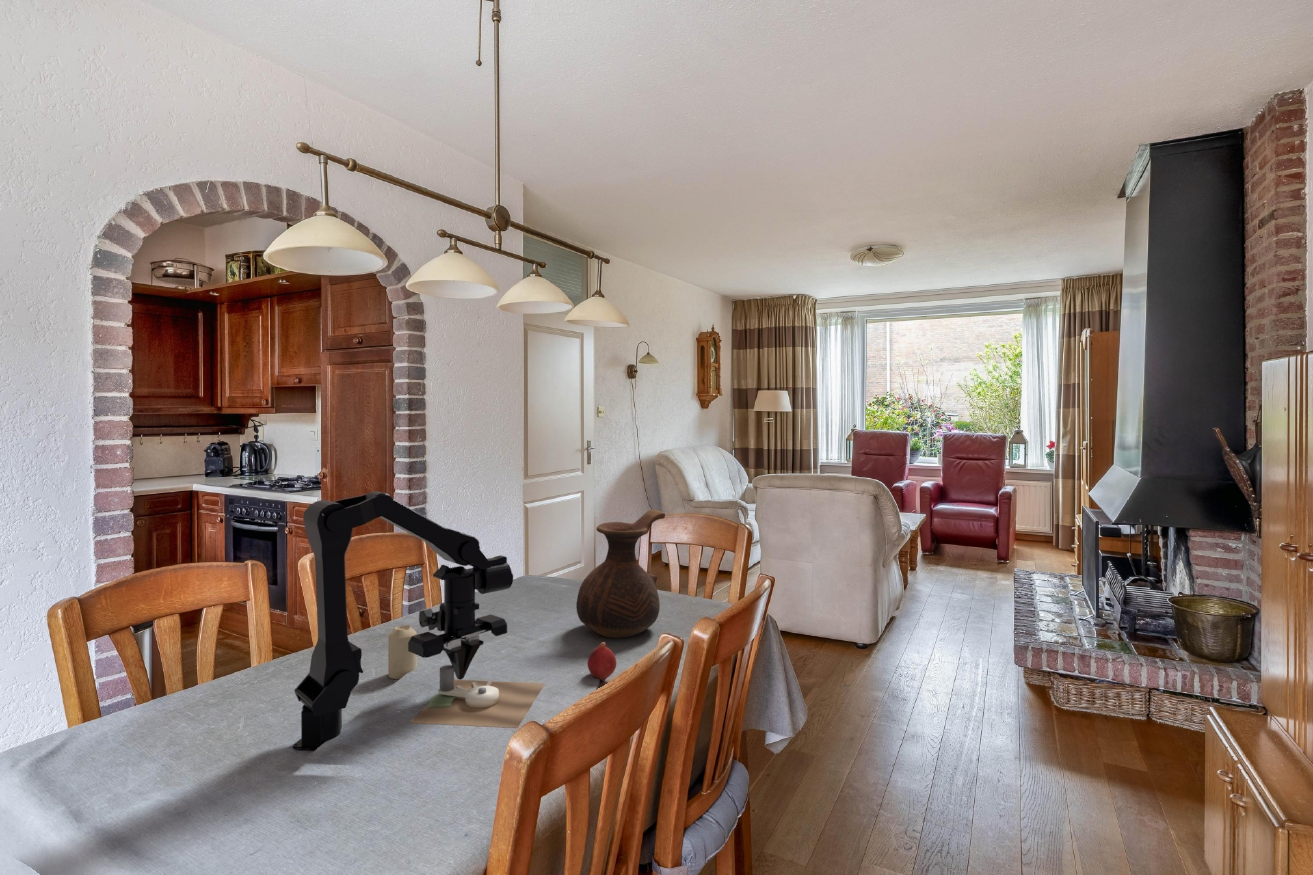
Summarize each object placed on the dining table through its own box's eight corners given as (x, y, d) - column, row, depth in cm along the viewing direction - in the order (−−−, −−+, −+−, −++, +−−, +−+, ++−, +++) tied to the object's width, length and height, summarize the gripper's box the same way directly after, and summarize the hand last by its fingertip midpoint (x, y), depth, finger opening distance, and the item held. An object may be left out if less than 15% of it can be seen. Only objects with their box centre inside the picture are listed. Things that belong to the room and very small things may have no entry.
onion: (590, 687, 133) (590, 648, 133) (585, 676, 139) (585, 638, 139) (618, 684, 135) (619, 645, 135) (612, 674, 141) (613, 636, 140)
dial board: (517, 734, 113) (517, 725, 113) (409, 729, 115) (409, 720, 115) (545, 689, 132) (545, 681, 132) (452, 685, 134) (452, 677, 134)
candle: (406, 680, 136) (406, 632, 136) (382, 678, 137) (382, 630, 137) (421, 670, 142) (421, 623, 141) (398, 668, 143) (398, 622, 142)
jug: (653, 646, 158) (655, 520, 157) (565, 641, 161) (566, 517, 160) (666, 619, 179) (668, 508, 178) (588, 615, 182) (589, 505, 181)
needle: (504, 696, 126) (504, 668, 125) (488, 709, 120) (488, 680, 120) (449, 688, 129) (449, 661, 129) (431, 701, 123) (431, 672, 123)
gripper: (475, 582, 140) (475, 655, 141) (392, 601, 126) (392, 682, 126) (509, 591, 133) (509, 668, 134) (424, 612, 119) (425, 698, 119)
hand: (460, 678), depth 128 cm, fingers closed
